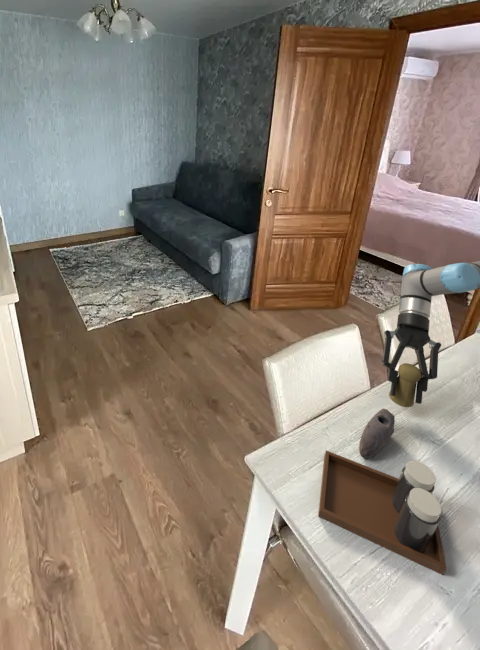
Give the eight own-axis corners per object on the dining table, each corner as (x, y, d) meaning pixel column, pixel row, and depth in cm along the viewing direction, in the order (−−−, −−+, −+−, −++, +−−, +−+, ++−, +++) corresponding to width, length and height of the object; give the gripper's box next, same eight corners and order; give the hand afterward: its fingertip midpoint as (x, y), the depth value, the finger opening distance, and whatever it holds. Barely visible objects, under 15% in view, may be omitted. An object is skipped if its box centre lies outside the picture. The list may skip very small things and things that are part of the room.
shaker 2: (424, 529, 70) (440, 494, 66) (428, 559, 65) (446, 524, 61) (392, 515, 72) (406, 481, 68) (394, 543, 67) (409, 508, 63)
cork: (389, 387, 100) (399, 356, 96) (414, 396, 97) (425, 365, 93) (387, 400, 96) (397, 369, 92) (413, 410, 93) (424, 379, 88)
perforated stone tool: (369, 469, 82) (376, 449, 79) (347, 453, 86) (353, 433, 83) (395, 435, 90) (402, 415, 88) (375, 421, 94) (381, 402, 92)
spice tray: (428, 499, 76) (432, 492, 75) (442, 577, 63) (446, 569, 62) (324, 457, 85) (325, 450, 84) (317, 518, 72) (319, 510, 71)
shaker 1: (420, 500, 75) (434, 466, 71) (423, 526, 70) (440, 491, 66) (390, 488, 77) (403, 454, 73) (392, 512, 73) (406, 478, 68)
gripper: (447, 327, 99) (441, 411, 92) (375, 311, 107) (365, 388, 99) (457, 321, 93) (452, 411, 85) (380, 305, 100) (369, 386, 93)
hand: (405, 398), depth 92 cm, fingers closed on cork, 5 cm apart
